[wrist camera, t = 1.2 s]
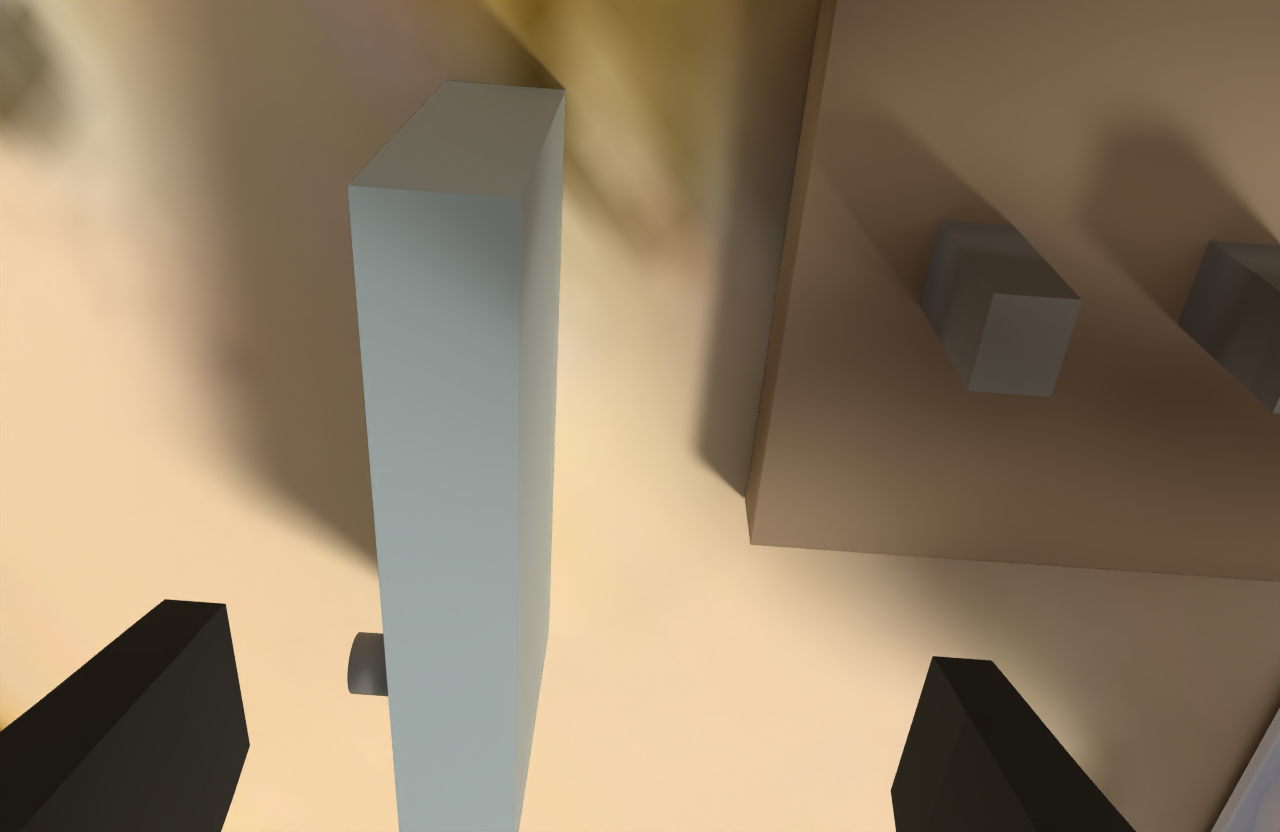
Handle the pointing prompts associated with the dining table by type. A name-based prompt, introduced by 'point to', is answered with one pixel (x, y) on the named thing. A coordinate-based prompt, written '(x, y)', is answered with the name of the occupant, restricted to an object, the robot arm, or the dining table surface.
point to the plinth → (1032, 289)
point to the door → (461, 440)
